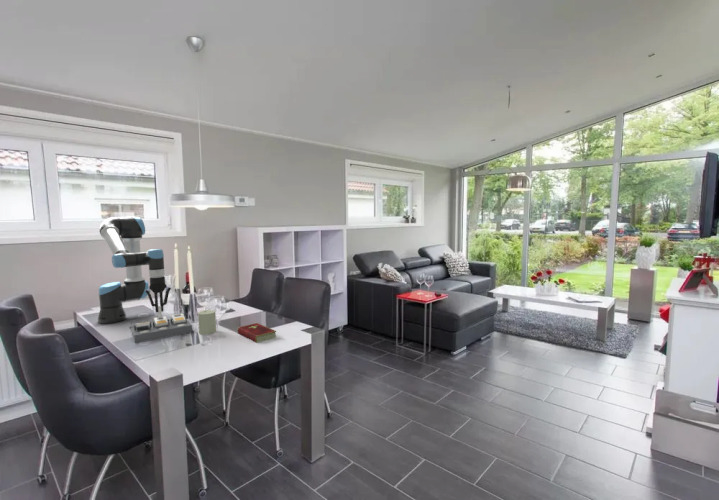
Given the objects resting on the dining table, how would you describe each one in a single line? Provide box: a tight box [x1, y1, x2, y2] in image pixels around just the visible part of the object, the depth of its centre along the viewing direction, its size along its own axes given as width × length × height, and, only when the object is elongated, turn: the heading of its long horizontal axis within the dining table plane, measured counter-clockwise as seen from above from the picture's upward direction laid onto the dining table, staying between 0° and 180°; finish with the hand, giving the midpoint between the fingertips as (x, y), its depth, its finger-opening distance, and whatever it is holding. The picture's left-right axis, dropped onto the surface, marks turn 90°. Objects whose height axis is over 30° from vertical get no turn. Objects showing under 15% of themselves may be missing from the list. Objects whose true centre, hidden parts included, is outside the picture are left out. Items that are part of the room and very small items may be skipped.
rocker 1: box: [135, 321, 151, 327], centre depth 203 cm, size 8×6×2 cm
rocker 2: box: [170, 313, 187, 324], centre depth 214 cm, size 8×6×2 cm
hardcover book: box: [237, 322, 277, 344], centre depth 202 cm, size 12×21×4 cm, turn 44°
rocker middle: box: [153, 316, 168, 327], centre depth 209 cm, size 8×6×2 cm
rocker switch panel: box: [130, 315, 193, 344], centre depth 207 cm, size 16×28×7 cm, turn 126°
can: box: [197, 309, 217, 336], centre depth 209 cm, size 9×9×12 cm
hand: (159, 317), depth 211 cm, fingers closed
